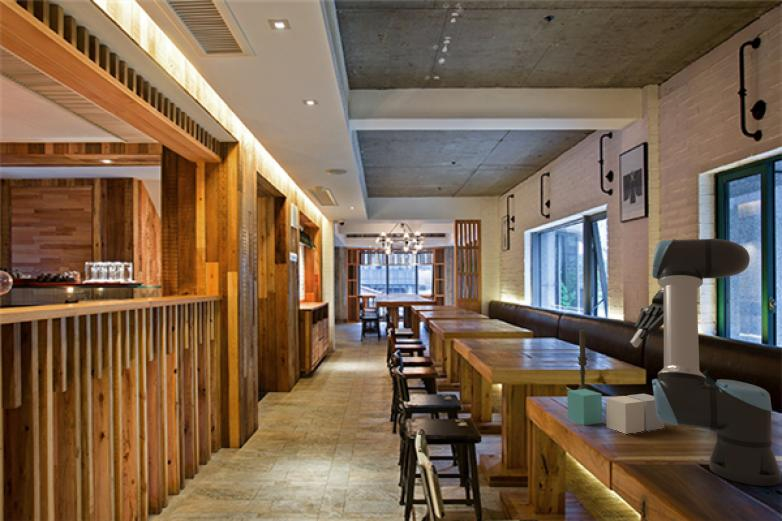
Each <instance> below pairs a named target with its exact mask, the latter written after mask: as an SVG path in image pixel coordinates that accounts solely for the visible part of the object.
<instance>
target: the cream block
mask: <svg viewBox="0 0 782 521" xmlns="http://www.w3.org/2000/svg"><path fill="white" fill-rule="evenodd" d="M627 396H628V395H626V396H625V395H621V396H619V395H618V396H611V397H606V428H607V429H609V428H610V429H609V430H611V429H613V430H612V431H614V430H617V431H619V432H622V433H625V434H628V433H634V434H637V433H636V432H641V431H644V401H641V400H637V399H634V398H630V397H627ZM617 431H616V432H617ZM619 432H618V433H619ZM644 432H645V431H644ZM622 433H621V434H622ZM641 433H642V432H641ZM625 434H624V435H625ZM628 435H629V434H628Z"/></svg>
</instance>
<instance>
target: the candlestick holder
mask: <svg viewBox="0 0 782 521" xmlns="http://www.w3.org/2000/svg"><path fill="white" fill-rule="evenodd" d="M586 356H587V355H586V330H584V328H582V329H579V356H578V357H577V360H578V362H577V363H578V365H579V366H580V368H579V374H580V385H579V387H578V389H577V390H580V389H587V390H589V389H588V388H587V387H586V385H585V381H586V378H585V377H586V368H585V367H587V365H588V363H587V360H588V359H589V358H588V357H586Z"/></svg>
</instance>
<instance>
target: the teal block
mask: <svg viewBox="0 0 782 521" xmlns="http://www.w3.org/2000/svg"><path fill="white" fill-rule="evenodd" d="M587 389H588V388H587ZM587 389H580V390H578V389H572V390H567V394H566V395H567V420H569V421H572V422H575V423H577V424H580V425H582V426H587V425H589V426H590V425H595V424H602V423H603V398H602V397H603V395H602V394H603V393H601V392H597V391H595V390H589V389H588V390H587Z"/></svg>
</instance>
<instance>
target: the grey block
mask: <svg viewBox="0 0 782 521" xmlns="http://www.w3.org/2000/svg"><path fill="white" fill-rule="evenodd" d="M626 396H627V397H630V398H634V399H637V400H641V401H644V430H646V431H648V432H650V431H649V430H654V429H661V428H664V429H665V423H663V422H661V421H660V420H659V419H658V417H657V412H656V405H655V399H654V395H650V394H648V393H647V394H646V393H638V394H628V395H626ZM661 430H662V429H661ZM646 431H645V432H646ZM654 431H655V430H654Z"/></svg>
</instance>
